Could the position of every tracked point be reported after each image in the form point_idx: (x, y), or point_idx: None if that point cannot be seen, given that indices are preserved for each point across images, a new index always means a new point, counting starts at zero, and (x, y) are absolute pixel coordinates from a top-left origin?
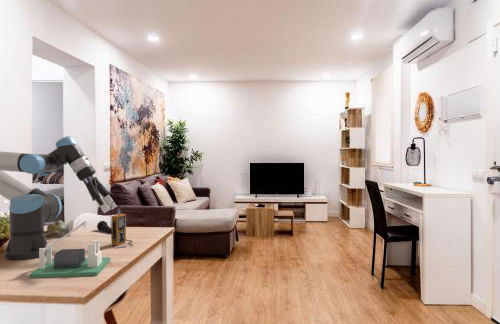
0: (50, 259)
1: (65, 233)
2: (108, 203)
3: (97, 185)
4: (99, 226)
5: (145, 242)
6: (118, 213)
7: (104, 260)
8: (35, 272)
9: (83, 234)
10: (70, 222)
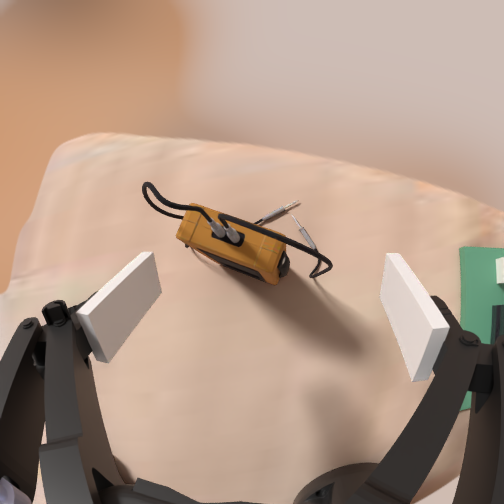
0: None
1: None
2: (135, 314)
3: (182, 494)
4: (33, 362)
5: (238, 170)
6: (237, 233)
7: (487, 255)
8: None
9: None
10: None
